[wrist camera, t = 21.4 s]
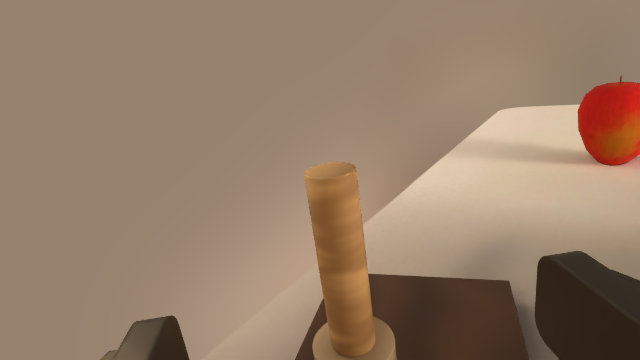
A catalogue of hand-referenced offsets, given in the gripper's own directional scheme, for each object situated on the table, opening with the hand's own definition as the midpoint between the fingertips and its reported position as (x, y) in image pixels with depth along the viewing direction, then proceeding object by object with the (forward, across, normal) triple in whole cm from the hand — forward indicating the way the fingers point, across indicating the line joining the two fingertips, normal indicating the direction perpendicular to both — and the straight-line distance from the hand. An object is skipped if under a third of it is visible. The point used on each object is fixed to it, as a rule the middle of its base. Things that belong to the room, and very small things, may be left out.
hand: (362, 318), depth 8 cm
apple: (+42, -43, +15) cm, 62 cm away
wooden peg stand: (+11, -1, +13) cm, 17 cm away
